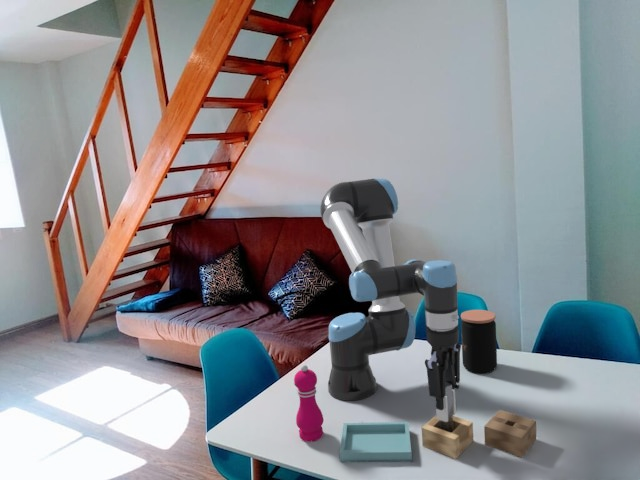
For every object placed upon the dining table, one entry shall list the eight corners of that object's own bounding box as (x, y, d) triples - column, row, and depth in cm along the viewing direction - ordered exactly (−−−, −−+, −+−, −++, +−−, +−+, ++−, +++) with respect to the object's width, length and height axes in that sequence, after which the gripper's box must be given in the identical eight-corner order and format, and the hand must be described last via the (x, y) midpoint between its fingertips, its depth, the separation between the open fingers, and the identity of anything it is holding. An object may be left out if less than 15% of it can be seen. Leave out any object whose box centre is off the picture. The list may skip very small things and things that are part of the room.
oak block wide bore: (422, 445, 123) (421, 427, 122) (440, 429, 129) (440, 411, 128) (455, 458, 116) (455, 439, 116) (473, 440, 123) (472, 422, 122)
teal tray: (340, 462, 119) (339, 452, 119) (344, 431, 132) (343, 423, 132) (411, 461, 117) (411, 452, 117) (408, 430, 130) (408, 421, 129)
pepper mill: (315, 445, 127) (307, 373, 123) (292, 439, 131) (284, 368, 127) (329, 431, 133) (323, 361, 129) (307, 425, 137) (300, 357, 133)
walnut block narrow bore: (484, 444, 121) (484, 426, 120) (500, 427, 127) (499, 409, 126) (522, 457, 115) (521, 438, 114) (536, 439, 121) (535, 420, 120)
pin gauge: (438, 438, 123) (435, 386, 120) (444, 432, 125) (442, 380, 122) (450, 442, 120) (447, 389, 118) (456, 436, 123) (454, 384, 120)
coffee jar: (469, 358, 169) (467, 308, 166) (501, 363, 163) (499, 311, 159) (458, 371, 160) (455, 318, 157) (491, 377, 154) (489, 322, 151)
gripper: (438, 340, 109) (443, 437, 113) (472, 318, 121) (475, 406, 125) (409, 334, 114) (415, 426, 118) (444, 313, 126) (448, 398, 130)
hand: (446, 416), depth 122 cm, fingers closed on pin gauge, 3 cm apart
